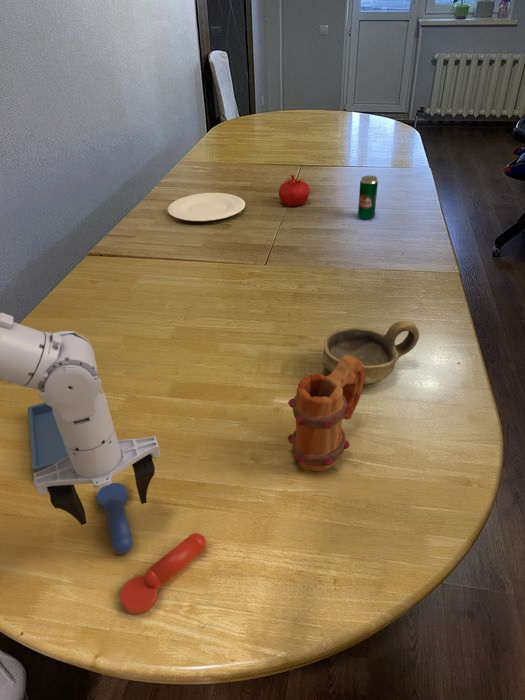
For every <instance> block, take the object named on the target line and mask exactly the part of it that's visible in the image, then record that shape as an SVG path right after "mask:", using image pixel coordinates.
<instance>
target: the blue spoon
mask: <svg viewBox="0 0 525 700" xmlns="http://www.w3.org/2000/svg"><path fill="white" fill-rule="evenodd" d="M128 498H129V493H128V491H127V488H126V486H125V485H123V484H122V483H119V482H112V483H111V484H110V485H108V486H105V487H101V488H99V490H98V492H97V494H96V503H97V505H98V507H99V509H101V511H104V513H105V519H106V523H107V527H108V532H109V537H110V543H111V547H112V550H113V552H115V554H118V555H126V554H128V553H130V551H131V550H132V548H133V545H134V540H133V536H132V531H131V527H130V523H129V520H128V515H127V511H126V508H125V505H126V503H127V502H128Z"/></svg>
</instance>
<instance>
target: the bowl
mask: <svg viewBox="0 0 525 700" xmlns="http://www.w3.org/2000/svg"><path fill="white" fill-rule="evenodd" d="M403 332H407V335H406V336H405V338H404V339H403V340H402V341H401V342H399V343H397V344H396V339H397V338H398V336H399V335H400V334H401V333H403ZM419 340H420V331H419V328H418V327H417V325H416V324H415V322H413V321H411V320H405V319H403V320H399V321H396V322H394V323H393V324H392V325H390V327H389V328H388V330H387V331H386V333H382V332H379V331H375V330H373V329H368V328H361V327H343V328H339V329H337V330H334V331H332V332H331V333H328V334H327V335H326V336H325V338H324V340H323V352H322V355H321V359H320V363H321V365H323V366H324V368H326V369H327V370H328V371H329V372H330V373H332V372H333V371H334V370H335V368H336V366H337V365H338V363H339V361H340V360H341V358H343V357H344V356H345V355H350V356H352V357H355V358H356V359H358V360H360V361H361V362H362V364H363V366H364V371H365V379H364V385H369V384H375V383H379V382H382V381H383V380H385V379H387V378H388V377H389V376H390V375H391V374H392V373H393V372H394V369H395V365H396V363H397V362H398V360H399V359H400V358H401V357H402V356H405V355H406V354H408V353H410V352H411V351H412V350H413V349H414V348H415V347H416V345H417V343H418V342H419Z"/></svg>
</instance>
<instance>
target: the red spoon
mask: <svg viewBox="0 0 525 700" xmlns="http://www.w3.org/2000/svg"><path fill="white" fill-rule="evenodd" d="M206 546H207V541H206V538H205V536H204V535H203V534H202V533H199V532H193V533H191V534H190V535H188V536H187V537H186V538H184V540H182V541H181V542H179V543H178V544H177V545H176V546H175V547H173V548H172V549H171V550H170V551H168V552H167V553H166V554H165V555H163V556H162V557H160V558H159V560H157V561H156V562H155V563H154V564H152V565H151V566H150V567H149V568H147V570H146V571H144V574H143V575H138V576H134V577H132V578H130V579H129V580H128V581H127V582H126V583H125V584H124V585H123V587H122V588H121V592H120V601H121V604H122V607H123V609H124V610H125V611H126V612H127V613H129V614H131V615H141V614H144V613H146V612H148V611H150V610H151V609H152V608H153V606H154V605H155V604H156V601H157V600H158V589H159V588H161V587H163V586H164V585H165V584H166V583H167V582H169V581H170V580H171V579H172V578H174V577H175V576H176V575H177V574H178V573H180V571H182V570H183V569H184V568H186V567H187V565H189V564H190V563H191V562H192V561H193V560H194V559H195V558H197V557H198V556H200V555H201V554H202V553H203V552H204V550H205V549H206Z"/></svg>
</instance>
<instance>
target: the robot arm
mask: <svg viewBox="0 0 525 700" xmlns="http://www.w3.org/2000/svg"><path fill="white" fill-rule="evenodd" d="M14 320H15V319H14V316H13V315H10V314H8V313H4V312H0V381H4V382H6V383H11V384H14V385H17V386H21V387H24V388H28V389H32V390H35V391H39V392H38V396H39V398H40V400H41V401H42V403H46V404H47V405H49V406H51V407H52V412H53V415H54V418H55V421H56V423H57V426H58V429H59V431H60V434H61V437H62V439H63V442H64V445H65V448H66V450H67V453H68V457H66V458H64V459H62V460H61V461H59V462H57V463H55V464H53V465H52V466H50V467H48V468H46V469H44V470H42V471H39V472H36V473H34V472H33V474H32V475H33V485H34V488H35V490H36V492H37V494H38V496H39V497H40V496H44V495H46V494H49V498H50V499H49V501H50V503H51V504H52V506H53V507H54V508H55V509H59V510H62V511H64V512H66V513H68V514H69V515H71V516H72V517H73V518H74V519H75V520H76V521H78V523H79V524H80V525H81V526H83V525H87V524H88V522H87V516H86V510H85V507H84V505H83V502H82V501H81V499H80V496H79V495H78V492H77V489H76V487H75V485H85V484H86V485H87V484H92V486H93V488H94V489H96V490H97V489H101V488H103V487H105V486H108V485H110V484H111V483H113V477H114V476H116V475H117V474H119V473H121V472H123V471H125V470H126V469H127V468H129V467H131V466H132V469H133V474H134V478H135V485H136V490H137V493H138V497H139V500H140V504H141V505H144V504H147V502H148V501H147V495H148V490H149V486H150V483H151V480H152V479H153V478H154V475H155V473H156V467H155V463H154V459H157V458H160V457H162V455H161V450H160V446H159V442H158V440H157V437H156V436H155V435H151V436H149V437H143V438H130V439H129V438H128V439H118V436H117V432H116V428H115V425H114V421H113V417H112V415H111V410H110V407H109V405H108V401H107V400H108V399H107V397H106V394H105V392H104V391H103V386H102V379H100V377H99V372H98V371H99V370H98V367H97V361H96V355H95V350H94V348H93V345H92V344H91V342H90V341H89V340H88V339H87V338H86V337H84V336H83V335H80V334H79V333H78V332H77V331H75V330H61V331H57V332H47V331H41V330H38V329H35V328H33V327H30V326H27V325H23V324H21V323H17V322H16V321H14Z"/></svg>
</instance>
